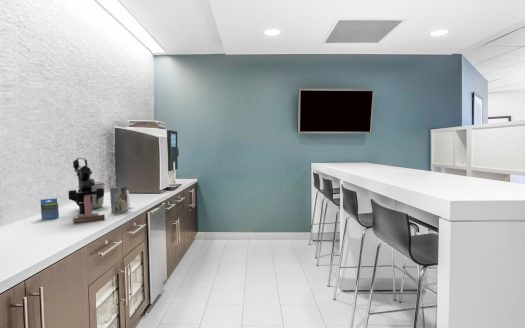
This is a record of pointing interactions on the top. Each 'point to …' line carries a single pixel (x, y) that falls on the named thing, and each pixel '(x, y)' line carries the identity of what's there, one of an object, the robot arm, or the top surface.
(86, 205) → the dusty red block
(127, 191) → the cylinder with rectangular tab
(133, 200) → the top surface
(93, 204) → the canister
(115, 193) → the coffee box
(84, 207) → the robot arm
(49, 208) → the label tape cartridge
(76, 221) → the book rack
